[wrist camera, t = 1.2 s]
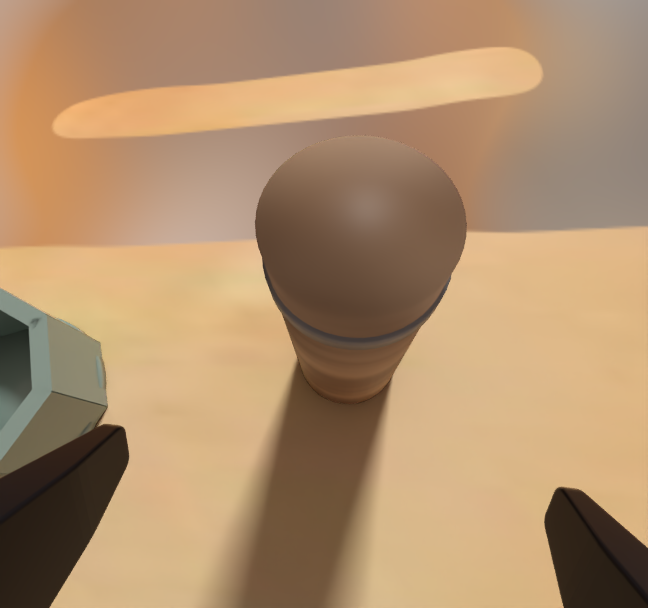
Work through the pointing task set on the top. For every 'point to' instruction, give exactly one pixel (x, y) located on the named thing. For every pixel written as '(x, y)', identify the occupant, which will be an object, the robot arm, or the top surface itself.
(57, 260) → the top surface
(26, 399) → the pot
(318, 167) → the pepper mill
